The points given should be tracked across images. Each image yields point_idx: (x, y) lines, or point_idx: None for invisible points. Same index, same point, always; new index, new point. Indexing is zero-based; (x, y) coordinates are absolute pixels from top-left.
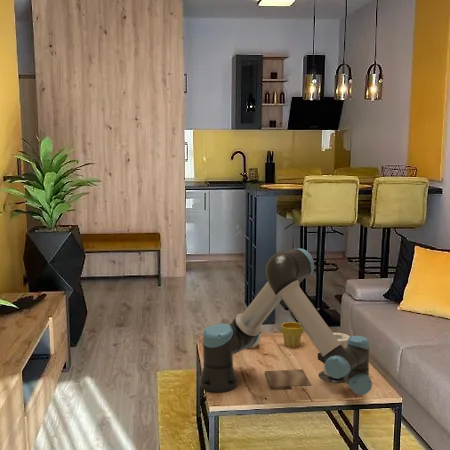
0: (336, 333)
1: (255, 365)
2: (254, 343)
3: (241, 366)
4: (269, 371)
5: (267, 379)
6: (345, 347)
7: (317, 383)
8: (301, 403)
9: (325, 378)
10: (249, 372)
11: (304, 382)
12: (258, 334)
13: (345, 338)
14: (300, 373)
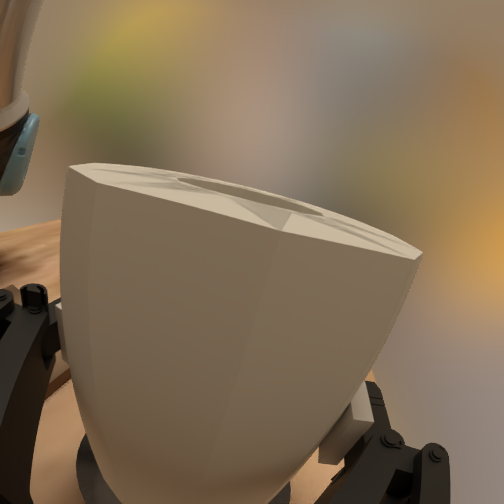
0: (285, 197)
1: (51, 267)
2: (9, 185)
3: (29, 256)
4: (14, 292)
5: None
6: (279, 404)
7: (47, 452)
8: None
9: None
10: (5, 272)
11: None
12: (14, 154)
13: (354, 231)
14: (57, 355)
